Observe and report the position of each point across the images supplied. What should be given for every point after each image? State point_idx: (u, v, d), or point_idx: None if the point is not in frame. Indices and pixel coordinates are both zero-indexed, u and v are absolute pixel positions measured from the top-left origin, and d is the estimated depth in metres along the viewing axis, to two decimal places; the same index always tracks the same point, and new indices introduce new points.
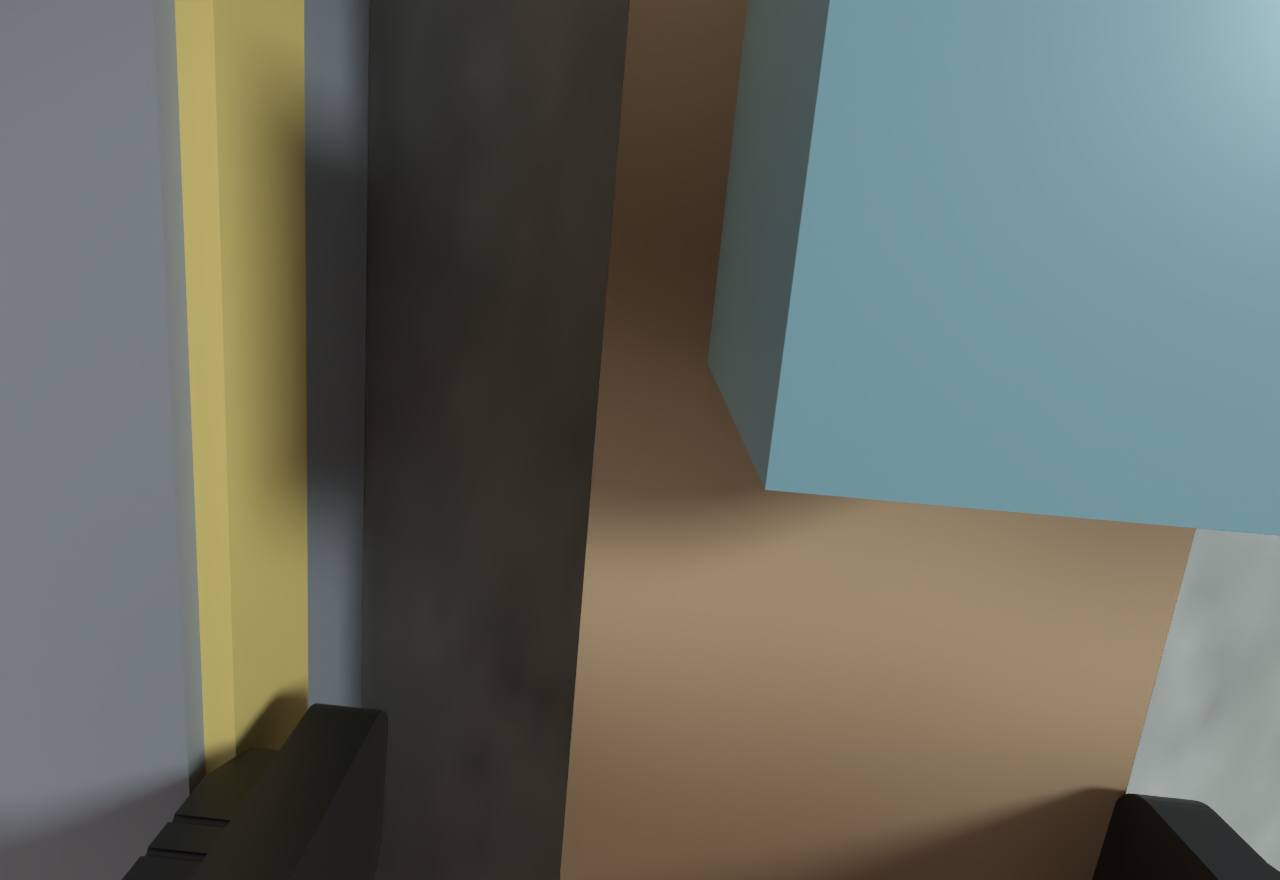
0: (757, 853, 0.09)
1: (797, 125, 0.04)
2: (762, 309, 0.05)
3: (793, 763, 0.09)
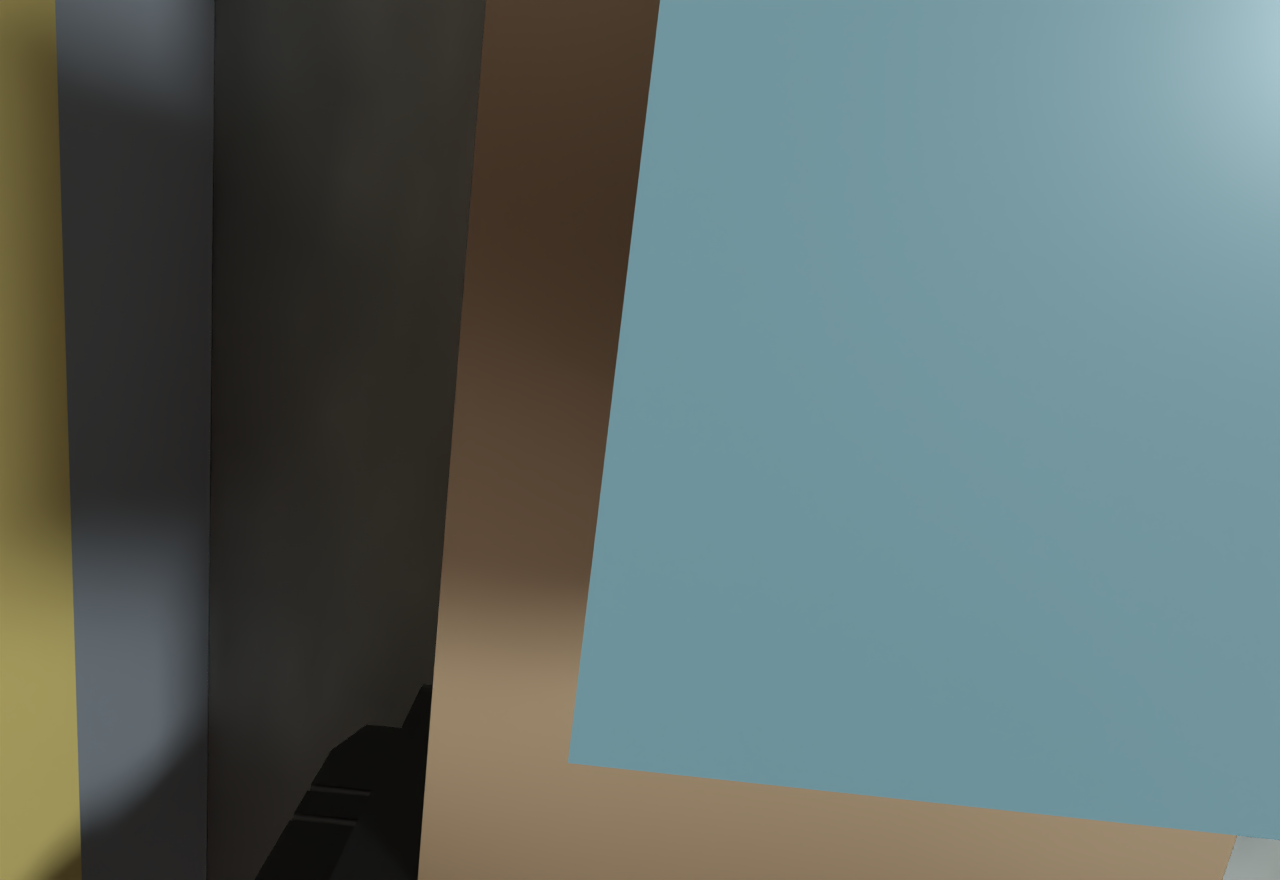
0: None
1: None
2: None
3: None
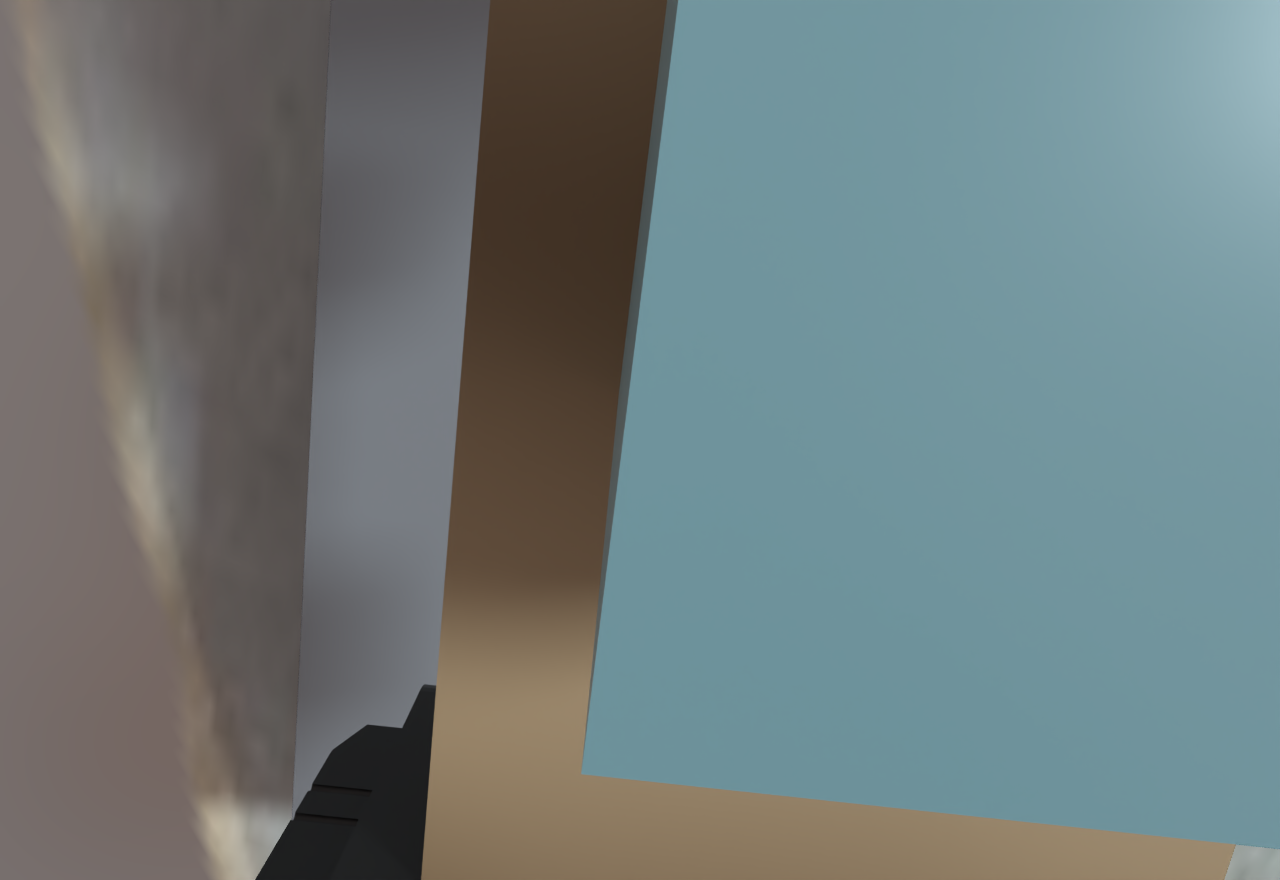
0: None
1: None
2: (633, 308, 0.02)
3: None
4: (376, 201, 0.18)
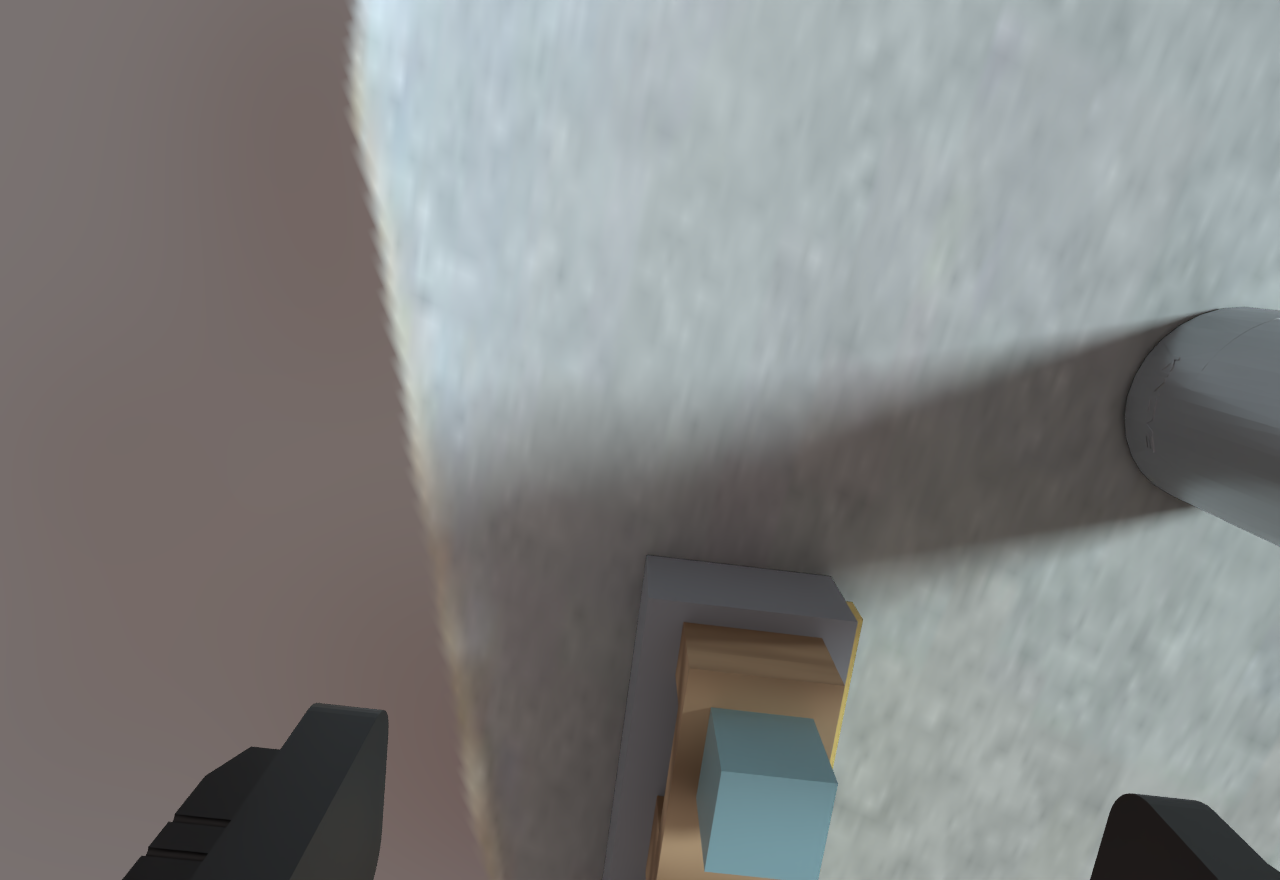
0: None
1: (710, 821, 0.29)
2: (705, 835, 0.30)
3: None
4: (658, 720, 0.37)
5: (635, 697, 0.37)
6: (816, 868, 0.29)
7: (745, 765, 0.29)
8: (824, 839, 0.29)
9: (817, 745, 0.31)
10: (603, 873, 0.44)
